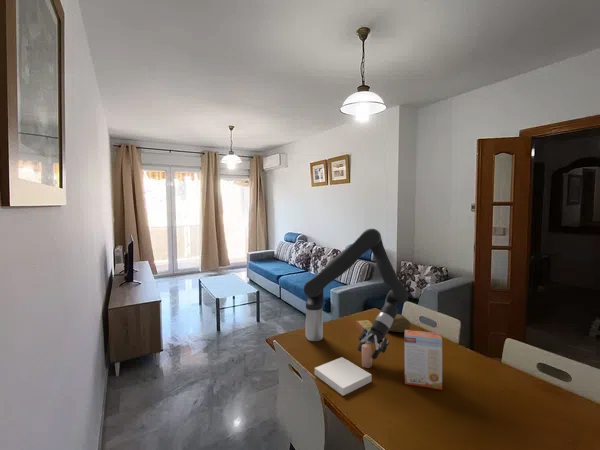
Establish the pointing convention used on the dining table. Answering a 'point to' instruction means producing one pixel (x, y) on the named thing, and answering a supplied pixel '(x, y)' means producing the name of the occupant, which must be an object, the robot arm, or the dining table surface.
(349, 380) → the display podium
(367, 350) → the canister
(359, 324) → the carton
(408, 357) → the cracker box
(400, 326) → the decorative stone
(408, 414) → the dining table surface
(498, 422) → the dining table surface
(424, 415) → the dining table surface
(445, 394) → the dining table surface
